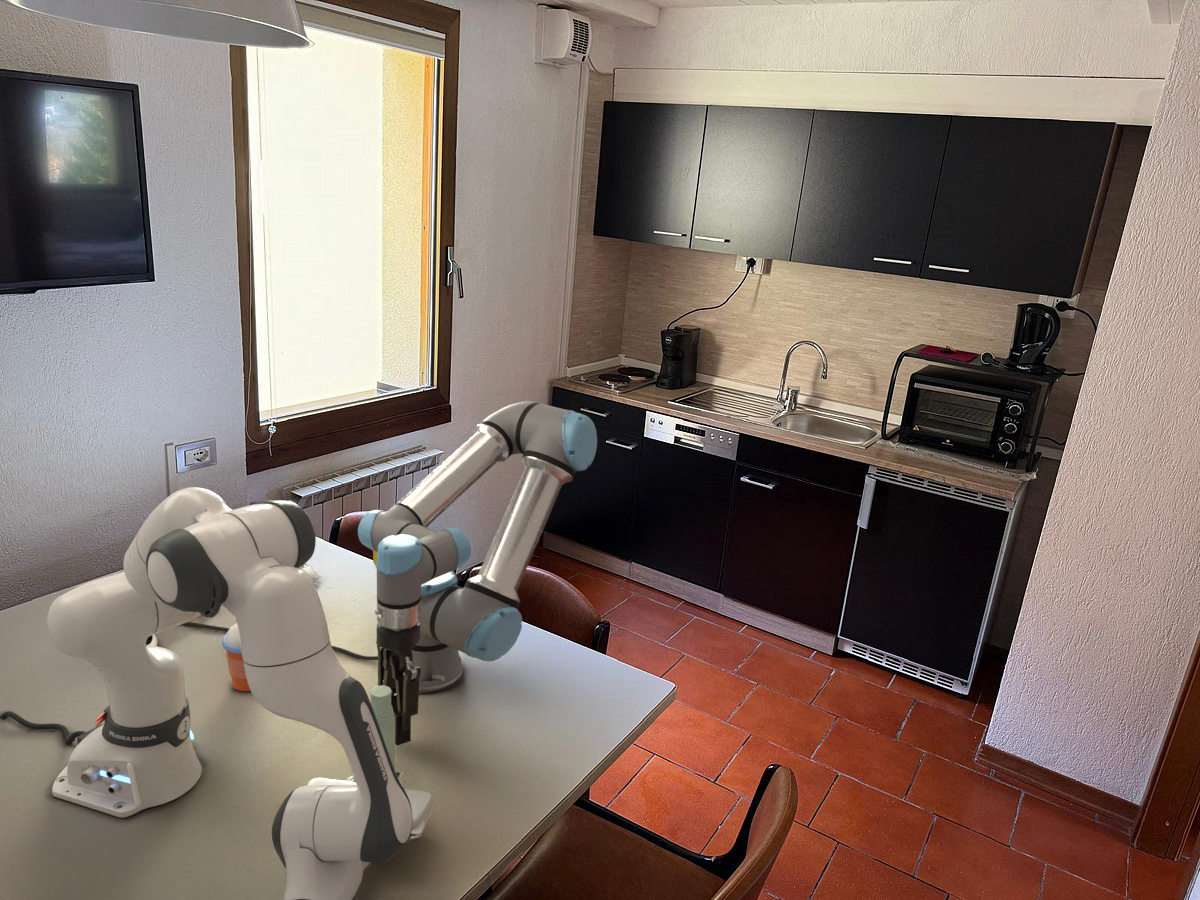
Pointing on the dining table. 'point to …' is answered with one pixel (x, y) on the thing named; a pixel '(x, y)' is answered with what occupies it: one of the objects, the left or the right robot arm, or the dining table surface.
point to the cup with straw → (235, 659)
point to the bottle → (385, 716)
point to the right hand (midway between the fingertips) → (396, 734)
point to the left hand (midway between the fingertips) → (382, 773)
